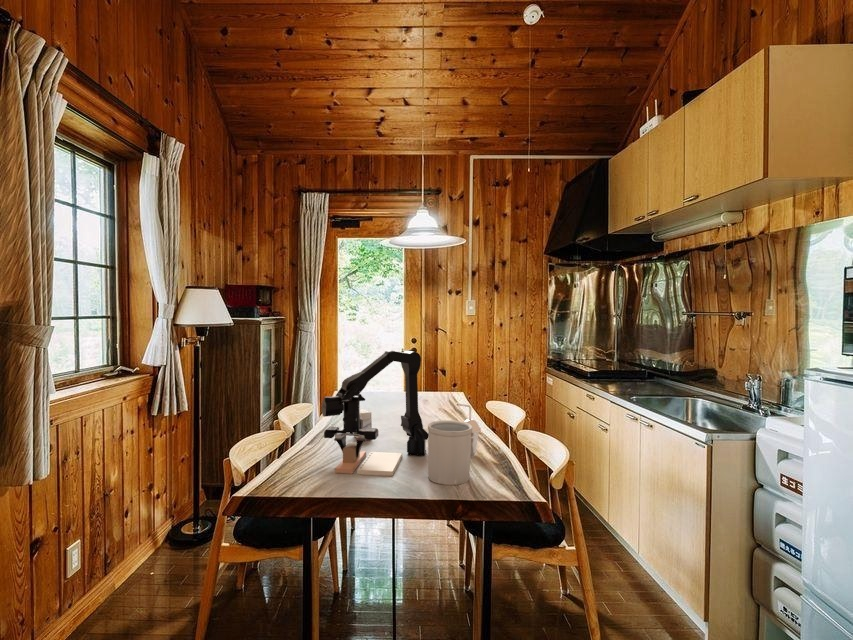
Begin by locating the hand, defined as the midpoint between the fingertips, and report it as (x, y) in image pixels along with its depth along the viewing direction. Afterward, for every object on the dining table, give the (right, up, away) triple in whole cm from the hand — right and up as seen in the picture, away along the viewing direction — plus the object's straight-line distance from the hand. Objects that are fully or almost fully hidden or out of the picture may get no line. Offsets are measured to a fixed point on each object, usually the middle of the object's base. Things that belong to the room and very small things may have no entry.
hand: (351, 456), depth 168 cm
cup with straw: (+43, -3, +11) cm, 45 cm away
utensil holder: (+35, -3, -13) cm, 37 cm away
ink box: (-1, -2, +33) cm, 33 cm away
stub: (0, -2, 0) cm, 2 cm away
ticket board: (+11, -3, -1) cm, 11 cm away
